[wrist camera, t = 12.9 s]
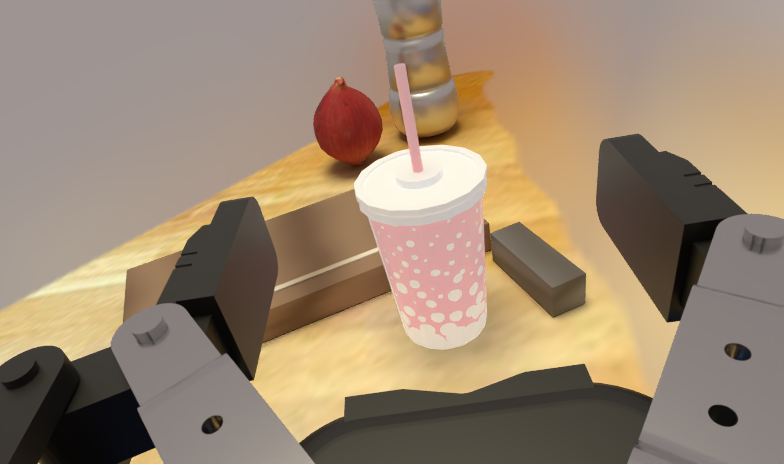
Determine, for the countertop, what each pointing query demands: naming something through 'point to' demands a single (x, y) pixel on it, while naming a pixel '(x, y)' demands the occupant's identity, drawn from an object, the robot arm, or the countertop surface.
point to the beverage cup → (430, 233)
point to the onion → (347, 124)
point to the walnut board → (362, 266)
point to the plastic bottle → (419, 63)
